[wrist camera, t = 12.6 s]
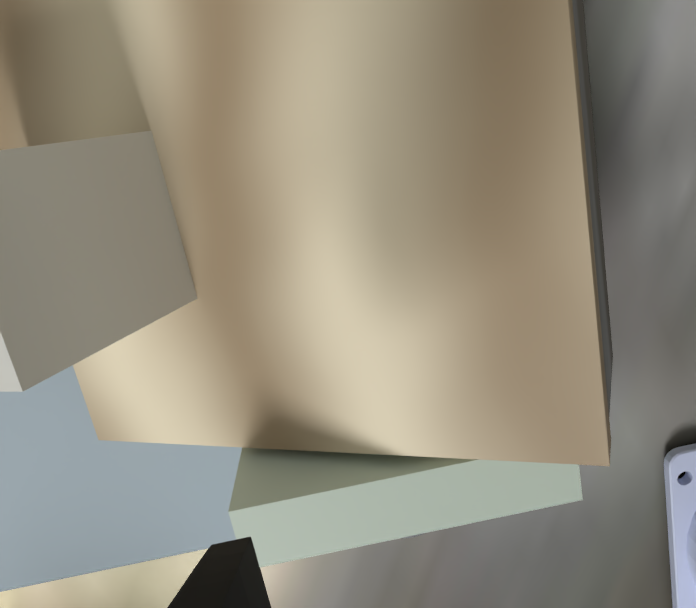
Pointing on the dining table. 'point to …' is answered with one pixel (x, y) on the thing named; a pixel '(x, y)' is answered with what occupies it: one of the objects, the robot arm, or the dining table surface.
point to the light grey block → (83, 252)
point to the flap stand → (378, 497)
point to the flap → (346, 219)
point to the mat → (99, 491)
